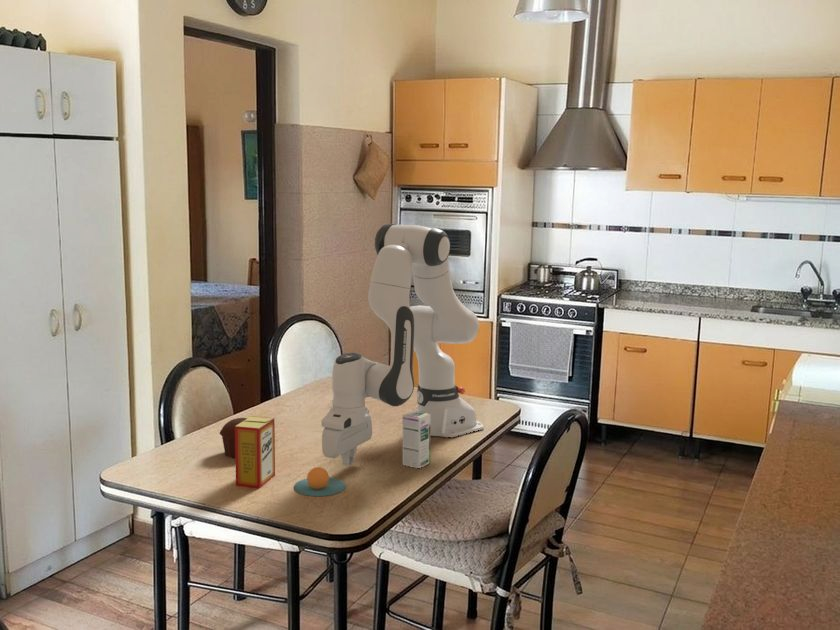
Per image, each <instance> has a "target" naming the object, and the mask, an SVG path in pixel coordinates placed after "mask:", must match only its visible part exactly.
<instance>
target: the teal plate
mask: <svg viewBox="0 0 840 630" xmlns="http://www.w3.org/2000/svg"><path fill="white" fill-rule="evenodd" d="M346 487H347V486H346V482H344V481H343V480H341V479H339V478H335V477H330V476H329V481H328V484H327V485H326V486H325V487H324V488H322V489H313V488H312V487H310V486H309V484H308V482H307V478H303V479H301V480H299V481H297V482H295V484H294V486H293V489H294V491H295V492H296V493H298V494H299V495H303V496H308V497H329V496H334V495H337V494H339V493H341V492H343V491H344V490H345V489H346Z"/></svg>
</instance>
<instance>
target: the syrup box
mask: <svg viewBox="0 0 840 630" xmlns="http://www.w3.org/2000/svg"><path fill="white" fill-rule="evenodd" d="M431 438H432V437H431V414H430V413H427V412H423V411H417V410H412V411H411V412H408V413H406V414H403V415H402V465H403V466H405V465H406V467H408V466H412V467H416V468H415V469H417V468H420V469H422V468H423V467H425V466H427V465H430V464H431ZM429 463H430V464H429ZM412 467H411V468H412ZM421 467H422V468H421Z"/></svg>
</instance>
